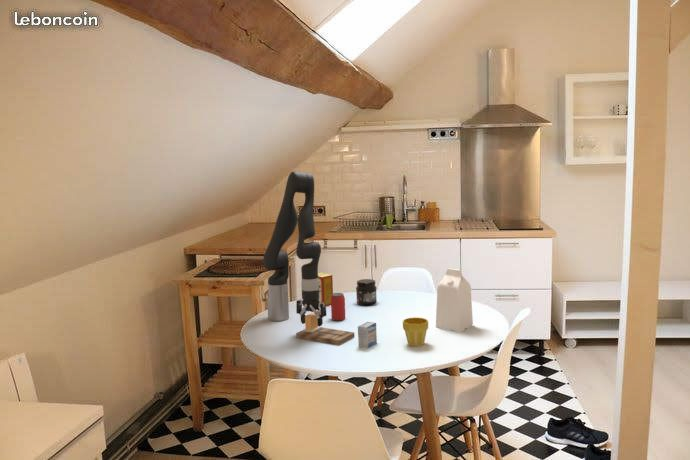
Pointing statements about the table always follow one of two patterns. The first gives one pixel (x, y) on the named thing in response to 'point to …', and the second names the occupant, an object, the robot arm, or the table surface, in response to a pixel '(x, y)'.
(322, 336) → the fader board
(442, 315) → the milk
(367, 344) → the medicine box
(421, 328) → the plant pot
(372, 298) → the supplement container
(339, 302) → the beer can
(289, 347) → the table surface
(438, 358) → the table surface
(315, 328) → the fader tab
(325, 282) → the baking soda box
